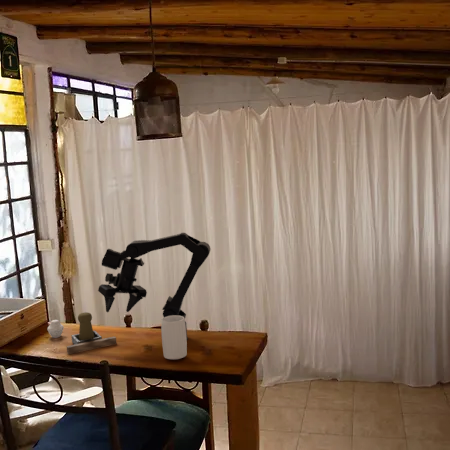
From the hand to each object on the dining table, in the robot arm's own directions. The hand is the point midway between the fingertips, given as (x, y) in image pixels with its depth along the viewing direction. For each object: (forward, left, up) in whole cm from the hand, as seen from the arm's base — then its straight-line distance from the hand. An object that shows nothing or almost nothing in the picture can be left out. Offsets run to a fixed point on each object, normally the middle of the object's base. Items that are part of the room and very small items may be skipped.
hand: (117, 311), depth 211 cm
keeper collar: (+12, -2, -11) cm, 17 cm away
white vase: (+24, -14, -11) cm, 30 cm away
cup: (-18, +26, -11) cm, 34 cm away
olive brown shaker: (+12, -2, -11) cm, 16 cm away
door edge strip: (+10, +6, -11) cm, 16 cm away
